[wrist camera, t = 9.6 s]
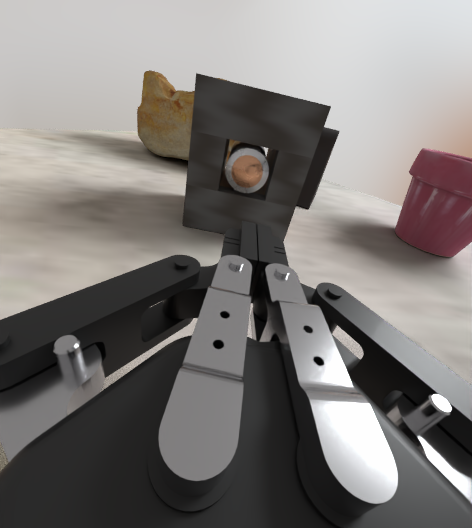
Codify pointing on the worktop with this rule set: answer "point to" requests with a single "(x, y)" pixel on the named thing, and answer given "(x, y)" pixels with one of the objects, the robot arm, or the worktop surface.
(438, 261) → the worktop surface
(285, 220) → the housing
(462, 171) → the plant pot
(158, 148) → the rough brown rock
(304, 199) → the phone stand
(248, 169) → the peg
